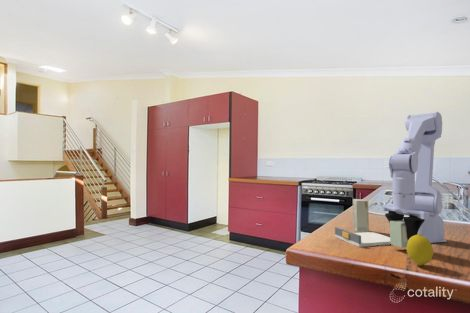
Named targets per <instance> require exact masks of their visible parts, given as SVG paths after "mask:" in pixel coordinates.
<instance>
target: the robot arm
mask: <svg viewBox="0 0 470 313" xmlns="http://www.w3.org/2000/svg"><path fill="white" fill-rule="evenodd" d="M442 117H443V116H442V114H441V113H440V112H439V111H435V112H429V113H420V114H410V115H407V116H406V118H405V121H404V124H405V129H406V131H407V135H406V138H404V139H402V140H401V141H400V143H399V146H398V148H397V150H396V151H395V152H396V153H395V154H393V155H390V158H389V161H388V166H389V167H388V168H389V172H390V178H391V179H392V205H391V204H382V205H381V206H382V208H381V210H382V212H387V213H385V214H384V216H385V218H386V219H387V221H388V223H389V224H390V221H399V220H404V222H405V225H406V230H407V240H409V238H411V237H412V236H414V235H417V234H421V235H422V236H424V237H426V238H427V239H428V240H429V241H430V242H431V244H435V243H447V242H448V241H447V240H446V239H445V223H444V220H443V218H442V217H441V215H440V214H441V213H442V211H443V200H442V198H443V197H442V193H441V192H440V191H439V190H438V189H437V188H435V187H434V186H433V173H434V172H433V170H434V154H435V145H436V140H438V139H440V138H442V133H443V119H442Z"/></svg>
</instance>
